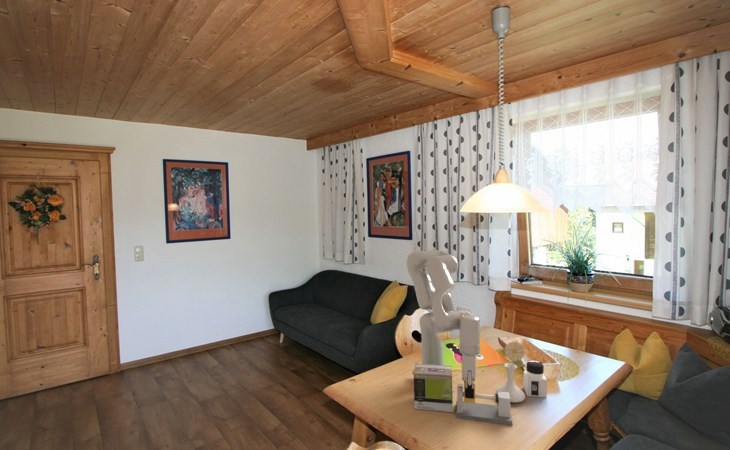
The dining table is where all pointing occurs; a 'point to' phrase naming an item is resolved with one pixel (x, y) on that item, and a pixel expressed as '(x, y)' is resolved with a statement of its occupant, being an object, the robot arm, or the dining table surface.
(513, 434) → the dining table surface
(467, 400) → the sleeve
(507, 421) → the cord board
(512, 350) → the flower in vase
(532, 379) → the container
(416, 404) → the tea box
